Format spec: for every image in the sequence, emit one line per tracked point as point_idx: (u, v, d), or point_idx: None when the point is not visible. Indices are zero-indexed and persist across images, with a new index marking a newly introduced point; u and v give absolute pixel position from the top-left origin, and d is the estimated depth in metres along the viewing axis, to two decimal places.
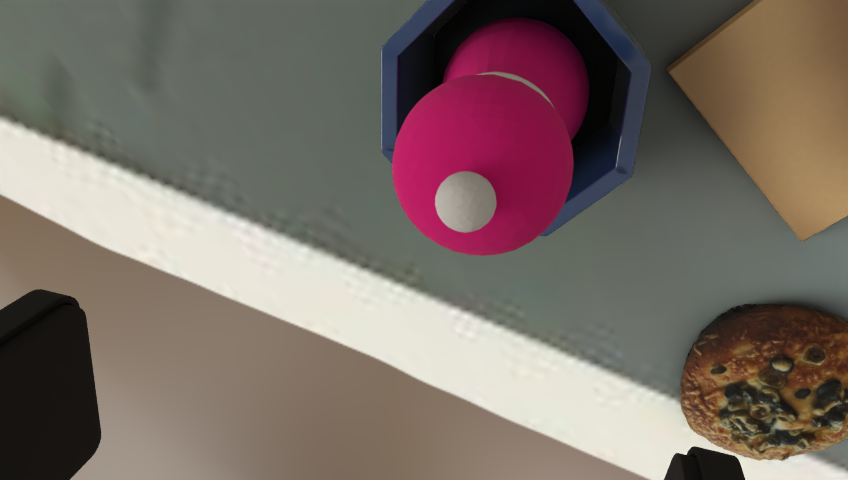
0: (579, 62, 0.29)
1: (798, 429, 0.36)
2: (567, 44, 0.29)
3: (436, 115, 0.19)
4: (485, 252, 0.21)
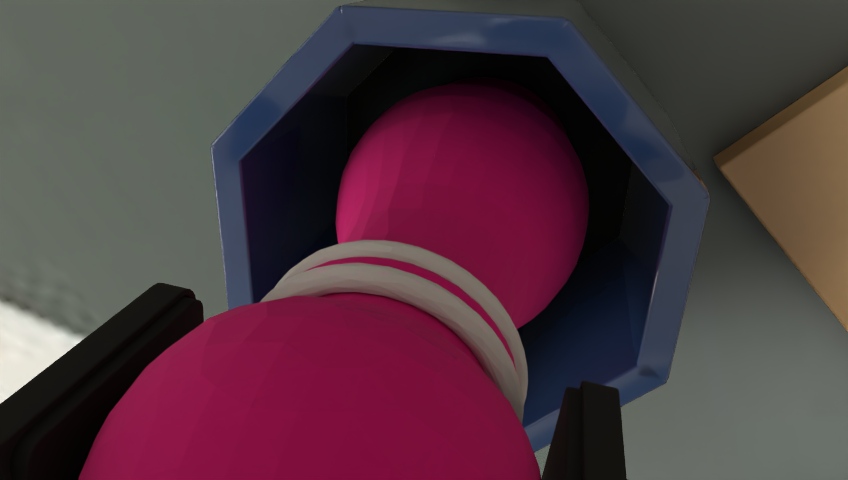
0: (571, 167, 0.17)
1: None
2: (549, 136, 0.16)
3: (129, 476, 0.06)
4: None
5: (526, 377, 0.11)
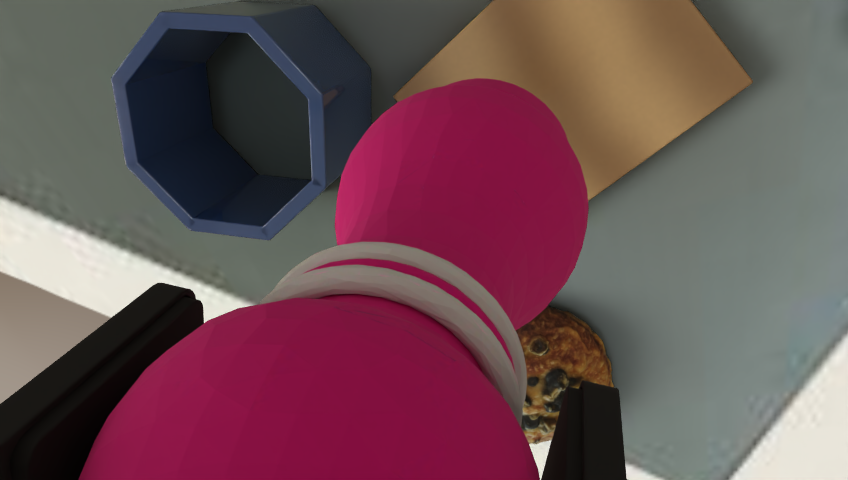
0: (570, 168, 0.17)
1: (535, 414, 0.41)
2: (549, 137, 0.16)
3: (128, 479, 0.06)
4: None
5: (525, 378, 0.11)
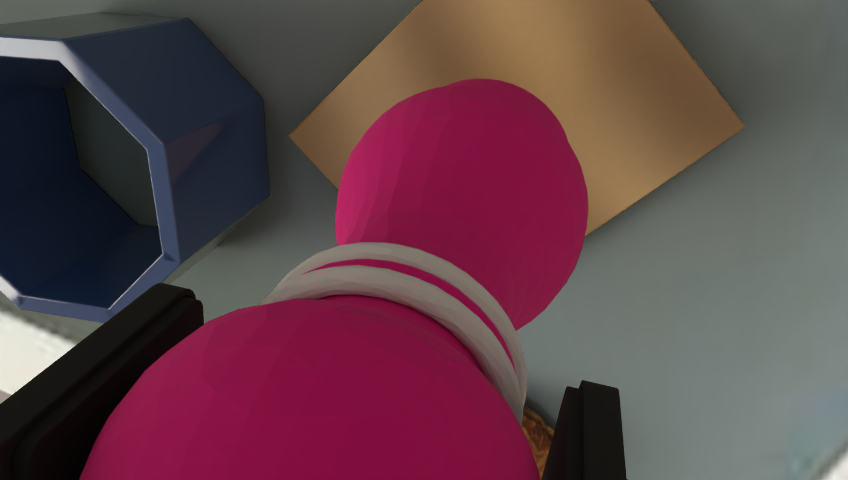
0: (570, 169, 0.17)
1: None
2: (549, 138, 0.16)
3: None
4: None
5: (525, 379, 0.11)
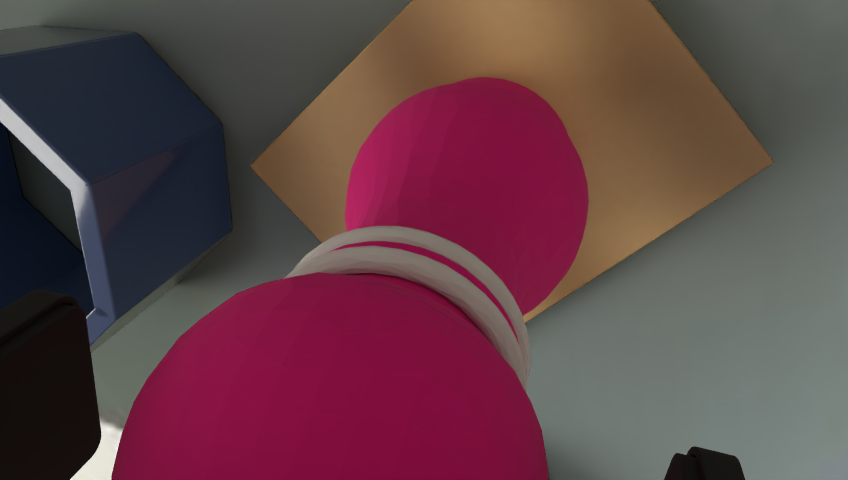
0: (571, 162, 0.17)
1: None
2: (551, 133, 0.17)
3: (172, 428, 0.07)
4: None
5: (529, 355, 0.12)
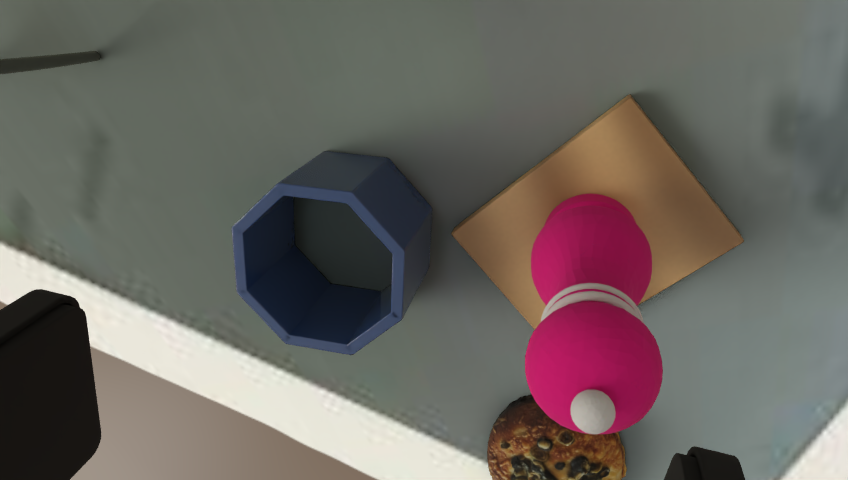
0: (646, 247, 0.37)
1: None
2: (637, 233, 0.37)
3: (568, 343, 0.27)
4: None
5: None
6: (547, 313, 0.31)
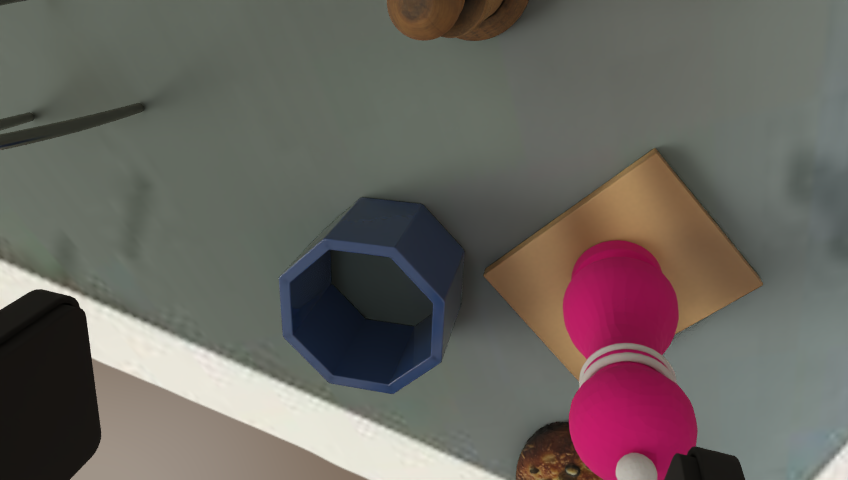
0: (673, 297, 0.39)
1: None
2: (665, 285, 0.39)
3: (612, 409, 0.29)
4: None
5: None
6: (587, 371, 0.34)
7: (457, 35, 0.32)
